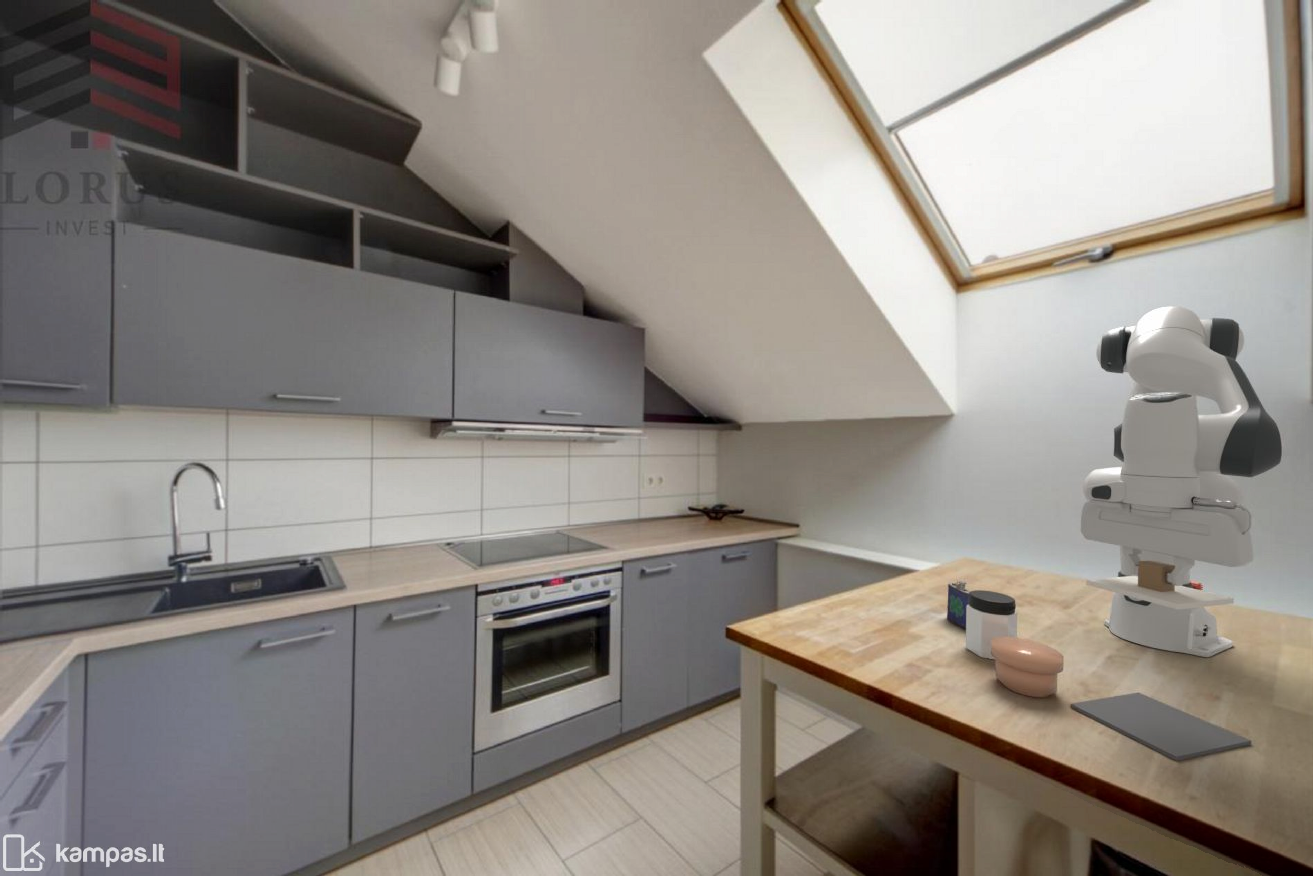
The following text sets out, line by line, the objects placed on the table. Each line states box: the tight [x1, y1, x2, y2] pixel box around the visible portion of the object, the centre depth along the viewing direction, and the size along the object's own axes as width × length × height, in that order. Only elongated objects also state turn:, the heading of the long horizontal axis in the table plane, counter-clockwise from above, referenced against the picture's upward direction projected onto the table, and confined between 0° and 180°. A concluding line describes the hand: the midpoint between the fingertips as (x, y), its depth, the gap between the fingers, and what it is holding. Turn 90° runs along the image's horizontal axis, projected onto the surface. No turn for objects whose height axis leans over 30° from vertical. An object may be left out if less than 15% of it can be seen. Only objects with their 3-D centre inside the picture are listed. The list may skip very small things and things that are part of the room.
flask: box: [946, 580, 972, 631], centre depth 119 cm, size 9×3×11 cm, turn 2°
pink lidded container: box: [991, 637, 1065, 698], centre depth 89 cm, size 11×11×7 cm
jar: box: [965, 589, 1018, 661], centre depth 103 cm, size 9×8×12 cm
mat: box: [1069, 692, 1252, 762], centre depth 78 cm, size 16×14×1 cm
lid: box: [1085, 561, 1235, 610], centre depth 78 cm, size 12×12×5 cm
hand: (1156, 580), depth 78 cm, fingers closed on lid, 3 cm apart
